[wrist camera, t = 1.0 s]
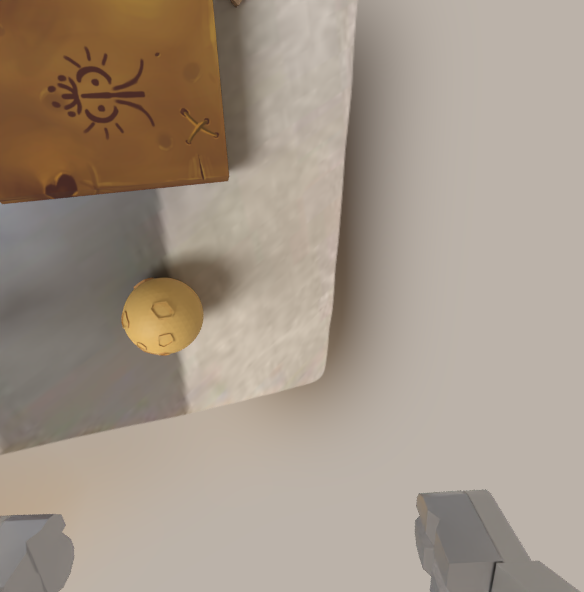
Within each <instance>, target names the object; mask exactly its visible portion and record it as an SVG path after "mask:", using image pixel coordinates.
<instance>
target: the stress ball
mask: <svg viewBox="0 0 584 592" xmlns="http://www.w3.org/2000/svg"><path fill="white" fill-rule="evenodd" d="M202 323H203V308H202V304H201V301H200V299H199V297H198V296H197V294H196V293H195V292H194V291H193V289H192V288H190V287H189V286H188V285H186V284H185V283H183V282H181V281H179V280H176V279H172V278H156V279H153V278H148V279H145V280H143V281H141V282H139V283H138V284H137V285H136V286H134V290H133V291H132V293H131V294H130V295H129V297H128V298H127V300H126V303H125V305H124V309H123V313H122V325H123V328H125V331H126V333H127V335H128V337H129V338H130V339H131V341H132V342H133V343H134V344H135V345H137V346H138V347H139V348H140V349H142V350H143V351H144V352H147V353H151V354H159V355H170V354H171V353H175V352H178V351H180V350H182V349H184V348H185V347H187V346H188V345H190V344H191V343H192V342H193V341H194V339H195V338H196V337H197V335H198V334H199V332H200V330H201V327H202Z"/></svg>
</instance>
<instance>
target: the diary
mask: <svg viewBox="0 0 584 592" xmlns="http://www.w3.org/2000/svg"><path fill="white" fill-rule="evenodd" d="M228 178H229V170H228V159H227V149H226V138H225V127H224V116H223V106H222V95H221V84H220V73H219V63H218V52H217V41H216V31H215V20H214V9H213V0H0V202H1V203H2V204H8V203H18V202H28V201H37V200H47V199H57V198H67V197H77V196H86V195H96V194H106V193H116V192H126V191H135V190H145V189H155V188H165V187H175V186H184V185H194V184H204V183H214V182H224V181H228Z"/></svg>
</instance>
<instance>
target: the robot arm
mask: <svg viewBox="0 0 584 592" xmlns="http://www.w3.org/2000/svg"><path fill="white" fill-rule="evenodd" d="M416 507H417V509H418V512H419V515H420V516H419V517H418V518H417V519H416V520H415V537H416V546H417V550H418V554H419V558H420V561H421V564H422V567H423V569H424V570H425V571H426V572H427V573H428V574H429V575H430V576H431V585H430V592H580V591H579V590H577V589H576V588H575V587H573V586H572V585H571V584H569V583H568V582H567V581H565V580H564V579H563V578H561V577H560V576H559V575H557V574H556V573H555V572H553V571H552V570H551V569H549V568H548V567H547V566H545V565H544V564H543V563H541V562H540V561H531V559H530V557H529V556H528V554H527V552H526V551H525V549H524V547H523V546H522V545H521V542H520V541H519V539H518V538H517V536H516V534H515V533H514V531H513V529H512V528H511V526H510V524H509V523H508V521H507V519H506V518H505V516H504V514H503V513H502V511H501V509H500V508H499V506H498V504H497V503H496V501H495V499H494V498H493V496H492V495H491V493H490V492H489V491H487V490H470V491H448V492H434V493H421V494H420V493H419V494H418V496H417V504H416ZM65 526H66V525H65V522H64V520H63V517H62V515H60V514H42V515H41V514H40V515H11V516H0V592H58V591H60V590H61V589H62V588H63V587H64V585H65V583H66V581H67V579H68V577H69V575H70V572H71V568H72V564H73V560H74V546H73V543H72V541H71V539H70V538H69V537H68V536H66V535H65V534H63V533H62V531H63V529H64V527H65Z"/></svg>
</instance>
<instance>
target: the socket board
mask: <svg viewBox="0 0 584 592" xmlns="http://www.w3.org/2000/svg"><path fill="white" fill-rule="evenodd" d="M230 1H231V2H232V3H233V4H234V6H235V7H237V6H239V4H240V3H241V2H242V0H230Z"/></svg>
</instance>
